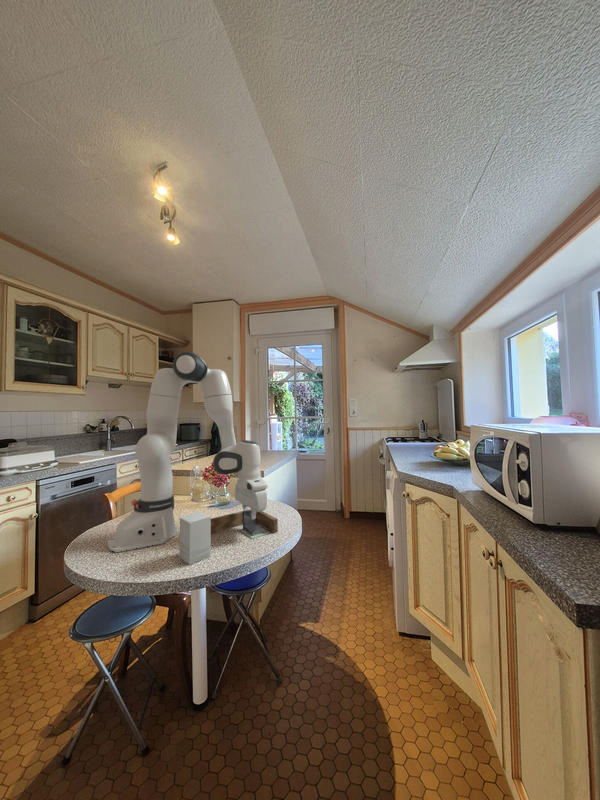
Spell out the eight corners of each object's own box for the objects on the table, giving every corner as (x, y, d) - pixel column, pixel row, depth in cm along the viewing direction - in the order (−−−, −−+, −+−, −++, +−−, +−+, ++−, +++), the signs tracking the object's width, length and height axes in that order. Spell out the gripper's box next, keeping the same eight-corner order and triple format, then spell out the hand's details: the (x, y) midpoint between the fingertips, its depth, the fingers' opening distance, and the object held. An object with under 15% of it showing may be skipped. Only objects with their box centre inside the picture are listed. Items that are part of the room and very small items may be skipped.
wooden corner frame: (223, 549, 97) (223, 534, 97) (205, 533, 110) (205, 520, 111) (277, 532, 110) (277, 519, 111) (255, 519, 124) (255, 507, 124)
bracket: (264, 532, 110) (264, 513, 110) (252, 536, 107) (252, 516, 107) (253, 526, 116) (253, 508, 116) (242, 529, 113) (242, 511, 113)
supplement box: (211, 556, 92) (211, 516, 93) (188, 565, 87) (189, 523, 88) (200, 549, 97) (200, 511, 98) (178, 557, 92) (179, 517, 93)
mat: (252, 539, 105) (252, 538, 105) (239, 530, 113) (239, 529, 113) (268, 533, 109) (268, 533, 109) (255, 525, 117) (255, 525, 117)
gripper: (231, 478, 121) (230, 511, 120) (255, 487, 104) (255, 526, 104) (244, 476, 124) (244, 508, 124) (269, 484, 108) (270, 522, 108)
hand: (249, 516), depth 114 cm, fingers open, 4 cm apart
